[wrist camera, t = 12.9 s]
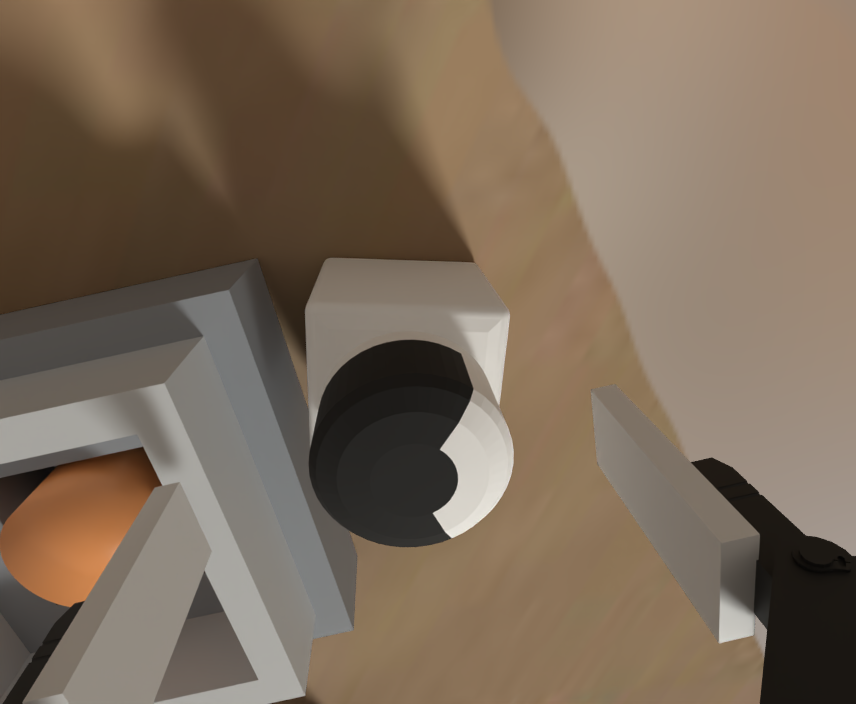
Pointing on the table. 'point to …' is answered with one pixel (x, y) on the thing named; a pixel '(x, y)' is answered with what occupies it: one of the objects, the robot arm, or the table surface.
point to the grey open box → (184, 469)
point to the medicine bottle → (406, 397)
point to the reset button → (76, 524)
